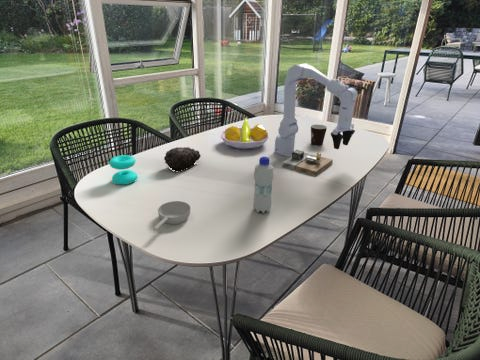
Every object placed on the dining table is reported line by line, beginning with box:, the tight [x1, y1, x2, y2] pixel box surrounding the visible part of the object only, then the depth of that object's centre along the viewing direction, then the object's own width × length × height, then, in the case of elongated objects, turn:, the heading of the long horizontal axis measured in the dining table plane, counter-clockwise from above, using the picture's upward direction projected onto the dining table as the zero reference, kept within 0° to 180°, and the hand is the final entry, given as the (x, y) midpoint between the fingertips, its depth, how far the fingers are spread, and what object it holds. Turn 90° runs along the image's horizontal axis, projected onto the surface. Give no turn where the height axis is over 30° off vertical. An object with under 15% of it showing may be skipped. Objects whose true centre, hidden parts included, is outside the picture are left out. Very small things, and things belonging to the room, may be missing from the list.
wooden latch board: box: [281, 152, 334, 177], centre depth 152 cm, size 17×18×2 cm
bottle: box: [253, 156, 274, 214], centre depth 110 cm, size 7×7×20 cm
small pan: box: [153, 200, 191, 230], centre depth 105 cm, size 11×18×4 cm, turn 163°
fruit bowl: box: [220, 117, 270, 150], centre depth 176 cm, size 28×27×11 cm
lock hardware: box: [291, 149, 315, 164], centre depth 152 cm, size 11×5×3 cm, turn 52°
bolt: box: [305, 152, 322, 164], centre depth 149 cm, size 7×2×5 cm, turn 52°
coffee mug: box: [310, 123, 328, 147], centre depth 179 cm, size 12×9×10 cm
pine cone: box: [163, 146, 202, 172], centre depth 148 cm, size 10×18×10 cm, turn 148°
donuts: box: [108, 154, 138, 185], centre depth 133 cm, size 10×10×10 cm
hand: (340, 146), depth 146 cm, fingers open, 7 cm apart
